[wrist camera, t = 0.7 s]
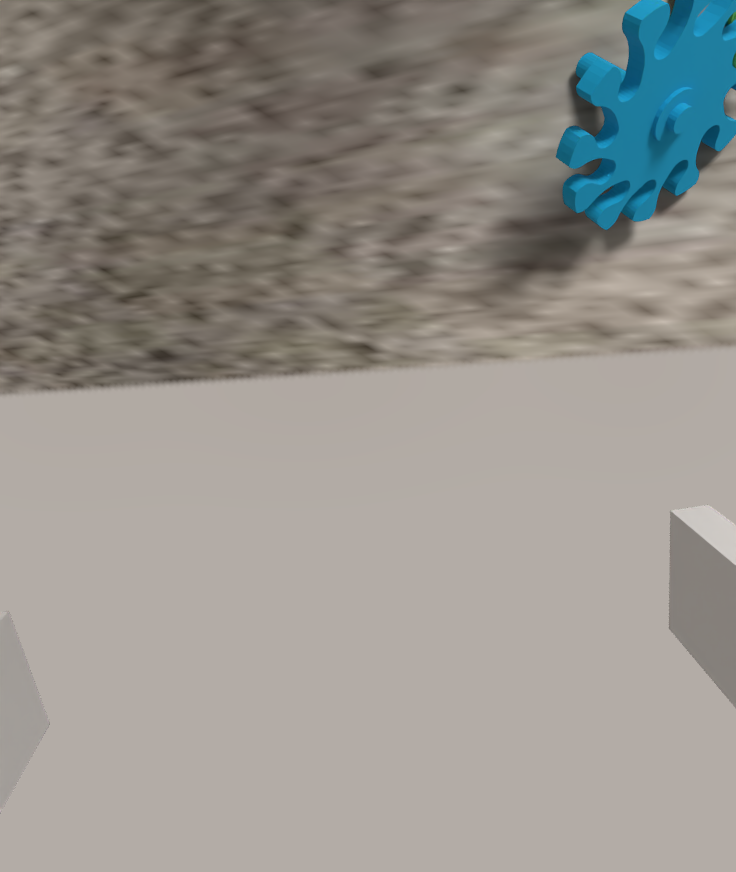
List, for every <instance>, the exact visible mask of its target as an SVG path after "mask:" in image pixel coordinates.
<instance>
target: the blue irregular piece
mask: <svg viewBox="0 0 736 872" xmlns="http://www.w3.org/2000/svg"><path fill="white" fill-rule="evenodd" d="M669 16H670V17H669ZM622 29H623V32H624V34H625V36H626V38H627V40H628V45H629V59H628V65H627V69H626V71H625V70H623V69H621V68H619V67H617V66H615V65H614V64H612V63H610V62H608V61H606V60H604V59H602V58H601V57H599V56H597V55H595V54H593V53H587V54H585V55H584V56H582V58H581V59H580V60H579V62H578V64H577V67H576V74H577V76H578V77H579V78H581V80H580V81H579V83H578V85H577V86H576V91H577V94H578V95H579V96H580V97H582V98H583V99H585V100H587V101H588V102H590V103H591V104H593V105H595V106H601V108H602V111H603V114H604V117H605V121H604V125H603V127H602V129H601V131H600V132H599V133H598V134H597V135H596V136H595V137H593V136H592V135H591V134H589V133H588V132H586V131H584V130H583V129H581V128H580V127H578V126H571V127H569V128H567V129H566V131H565V132H564V134H563V136H562V138H561V141H560V144H559V147H558V150H557V154H556V158H558V159H559V160H560V161H562V162H563V163H565V164H566V165H567V166H569V167H570V168H573V169H576V168H579V167H581V166H583V165H584V164H586V163H588V162H590V161H592V160H595V159H598V158H602V162H601V164H600V166H599V167H598V169H597V170H596V171H595V172H594V173H592V174H591V175H588V176H585V175H581V174H575V175H572V176H571V177H569V178H568V179H567V180H566V181H565V182H564V184H563V200H564V204H565V205H567V206H568V207H569V208H571V209H572V210H573V211H574V212H576V213H580V212H583V211H584V210H585V214H586V216H587V217H588V218H590V219H591V220H592V221H593V222H595V223H596V224H597V225H599V226H600V227H601V228H603V229H605V230H608V229H609V228H610V227H611V226H612V225H613V224H614V223H615V222H616V220H617V219H618V216H619V214H620V212H621V213H623V214H624V215H626V216H627V217H628V218H630V219H631V220H633V221H643V220H647V219H649V218H650V217H651V216H652V214H653V213H654V211H655V209H656V205H657V199H658V195H659V192H660V190H661V188H662V186H663V188H665V189H667V190H668V191H670V192H671V193H673V194H674V195H676V196H677V195H680V194H682V193H683V192H685V191H686V190H688V189H689V188H691V187H692V186H693V185H694V184H696V182H697V180H698V177H699V171H698V169H697V167H696V155H697V151H698V148H699V145H700V142H701V141H702V142H703V143H704V144H706V145H708V146H710V147H711V148H713V149H715V150H717V151H721V150H722V149H723V148H724V147H725V146H726V145H727V144H728V143H729V142H730V141H731V140H732V138H733V137H734V136H735V135H736V120H734V119H732V118H731V117H729V116H727V115H725V113H724V107H723V101H724V98H725V96H726V94H727V92H728V91H729V89H730V88H733V89H735V90H736V0H675V4H674V7H673V10H672V13H671V15H670V6H669V4H668V3H666V2H663V1H661V0H641V1H639V2H638V3H637V4H635V5H634V6H633V7H631V8H630V9H629V10H628V11H627V12H625V15H624V18H623V22H622ZM613 185H614V186H613ZM611 186H613V187H612V188H611V189H610V190H609V191H608V192H607V193H605V194H602V195H600V194H601V193H603V192H604V191H605V190H606V189H608V188H609V187H611ZM599 195H600V196H599Z"/></svg>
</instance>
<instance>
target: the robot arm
mask: <svg viewBox="0 0 736 872" xmlns="http://www.w3.org/2000/svg"><path fill="white" fill-rule="evenodd" d="M669 629H670V630H671V632H672V633H673V634H674V635H675V636H676V637H677V639H678V640H679V641H680V642H681V643H682V645H683V646H684V647H685V648H686V649H687V651H688V652H689V653H690V654H691V655H692V657H693V658H694V659H695V660H696V661H697V663H698V664H699V665H700V666H701V667H702V668H703V669H704V671H705V672H706V673H707V674H708V675H709V677H710V678H711V679H712V680H713V681H714V683H715V684H716V685H717V686H718V688H719V689H720V690H721V691H722V692H723V693H724V695H725V696H726V697H727V698H728V699H729V701H730V702H731V703H732V704H733V705H734V707H735V708H736V525H735V524H734V523H732V522H731V521H730V520H728V519H727V518H725V517H724V516H723V515H722V514H720V513H719V512H718V511H716V510H715V509H713V508H712V507H711V506H709V505H704V506H698V507H691V508H685V509H678V510H671V511H670V582H669ZM49 725H50V722H49V720H48V717H47V714H46V711H45V709H44V706H43V704H42V700H41V698H40V695H39V692H38V689H37V687H36V684H35V681H34V679H33V676H32V673H31V670H30V668H29V665H28V662H27V659H26V657H25V654H24V651H23V648H22V646H21V643H20V640H19V638H18V635H17V632H16V629H15V627H14V624H13V621H12V619H11V616H10V613H9V611H5V612H0V813H1V811H2V809H3V808H4V806H5V804H6V802H7V800H8V799H9V797H10V795H11V793H12V791H13V790H14V788H15V786H16V784H17V782H18V780H19V779H20V777H21V775H22V773H23V772H24V770H25V768H26V766H27V764H28V763H29V761H30V759H31V757H32V755H33V753H34V752H35V750H36V748H37V746H38V745H39V743H40V741H41V739H42V737H43V735H44V734H45V732H46V730H47V728H48V726H49Z"/></svg>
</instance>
